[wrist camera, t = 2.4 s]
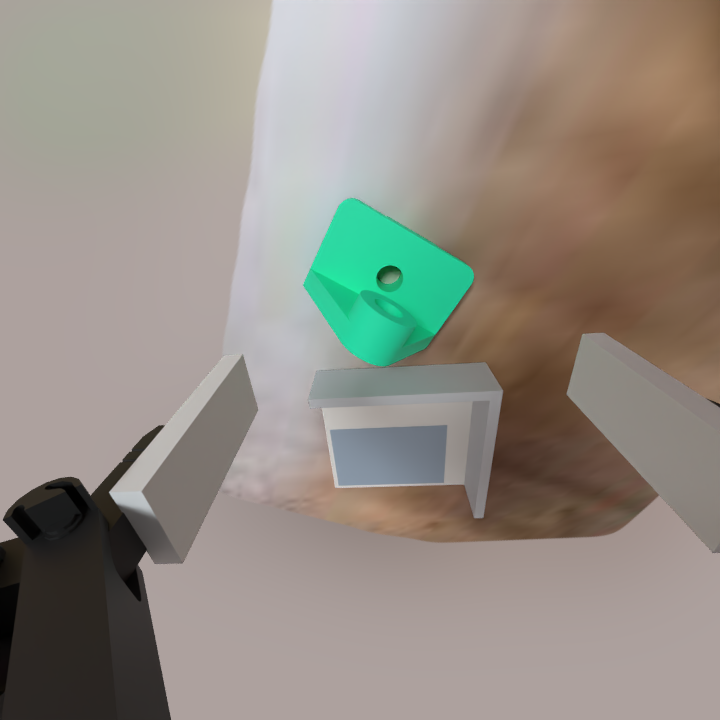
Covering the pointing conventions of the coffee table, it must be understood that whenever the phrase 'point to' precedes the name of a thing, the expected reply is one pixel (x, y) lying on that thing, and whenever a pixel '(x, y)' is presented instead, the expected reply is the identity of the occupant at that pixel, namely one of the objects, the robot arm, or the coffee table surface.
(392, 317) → the camera mount
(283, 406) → the coffee table surface
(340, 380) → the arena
